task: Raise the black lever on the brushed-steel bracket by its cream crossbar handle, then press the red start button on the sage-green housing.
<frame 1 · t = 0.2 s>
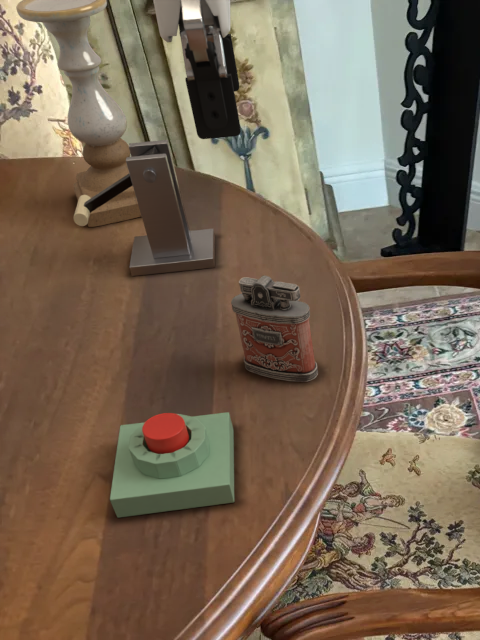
hand: (220, 112, 62), 25 cm above the table, tool pointing down, fingers open, 9 cm apart
button: (165, 433, 68), point 4 cm above the table, slide at 0.1 cm
lighter: (281, 370, 81), on the table
lever: (118, 187, 91), point 9 cm above the table, hinge at -25.0°
bracket: (175, 256, 98), on the table
candle holder: (122, 204, 109), on the table
button box: (178, 471, 71), on the table
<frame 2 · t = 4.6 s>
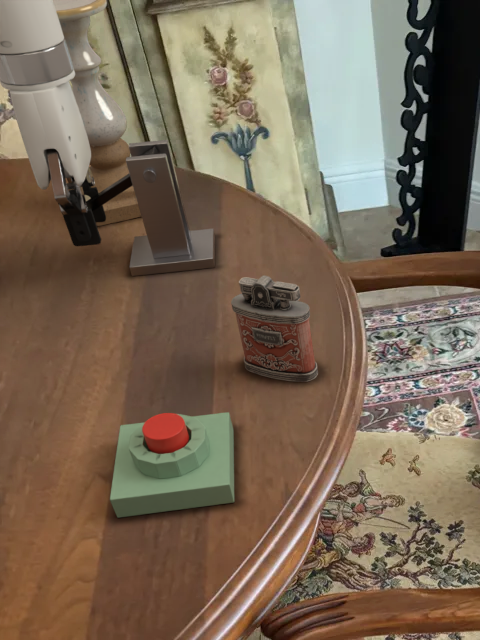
hand: (90, 231, 94), 4 cm above the table, tool pointing down, fingers closed on lever, 5 cm apart
lever: (118, 187, 91), point 9 cm above the table, hinge at -25.0°, touching gripper
everything else where it was.
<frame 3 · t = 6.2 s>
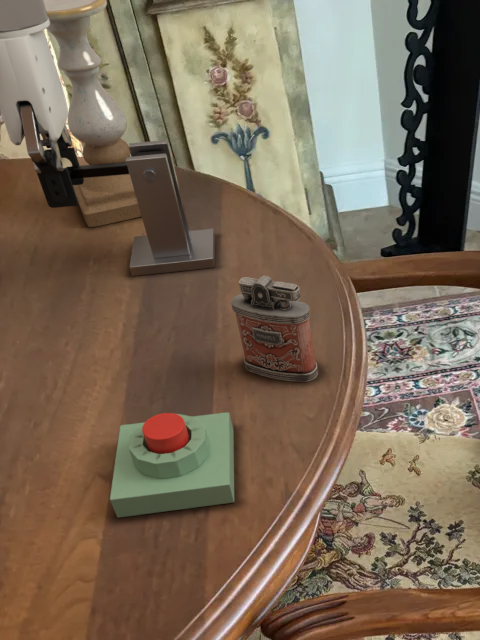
hand: (66, 193, 91), 9 cm above the table, tool pointing down, fingers closed on lever, 5 cm apart
lever: (109, 169, 90), point 11 cm above the table, hinge at 0.8°, touching gripper
everything else where it was.
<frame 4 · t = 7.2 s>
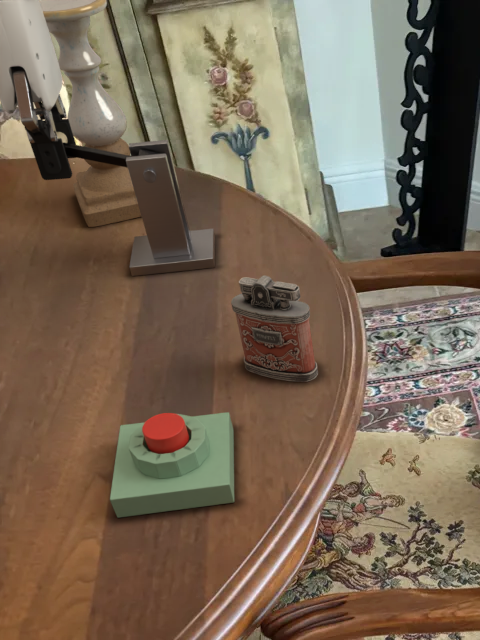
hand: (61, 166, 89), 12 cm above the table, tool pointing down, fingers closed on lever, 5 cm apart
lever: (107, 157, 89), point 12 cm above the table, hinge at 17.0°, touching gripper
everything else where it was.
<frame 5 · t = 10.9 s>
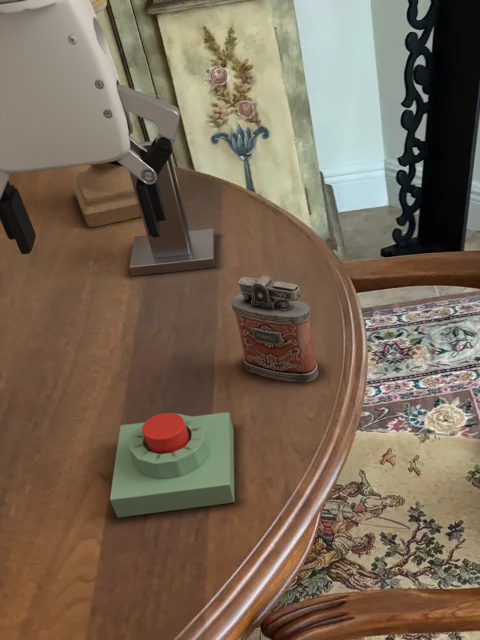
hand: (93, 237, 61), 19 cm above the table, tool pointing down, fingers open, 9 cm apart
lever: (107, 157, 89), point 12 cm above the table, hinge at 17.5°
everything else where it was.
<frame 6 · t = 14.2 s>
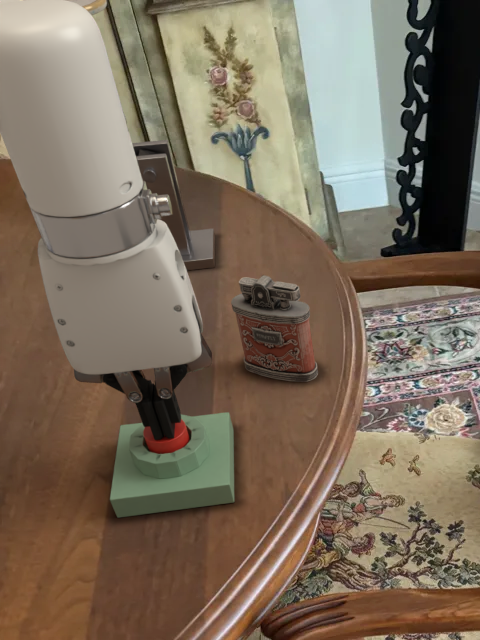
hand: (165, 428, 67), 5 cm above the table, tool pointing down, fingers closed
button: (166, 436, 68), point 4 cm above the table, slide at -0.3 cm, touching gripper
everything else where it was.
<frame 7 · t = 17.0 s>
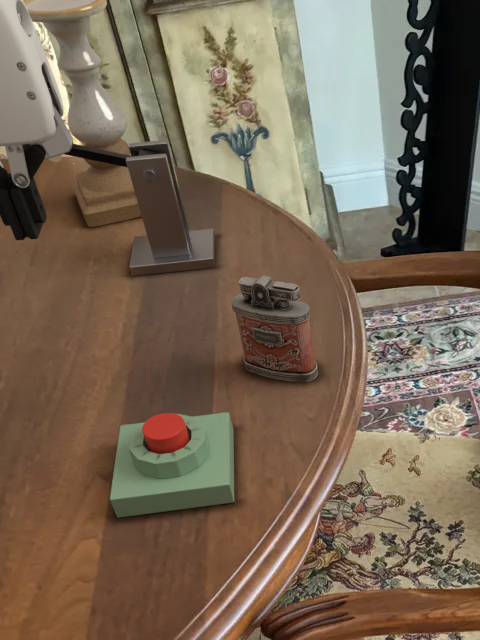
hand: (30, 231, 63), 19 cm above the table, tool pointing down, fingers closed
button: (165, 433, 68), point 4 cm above the table, slide at 0.1 cm
everything else where it was.
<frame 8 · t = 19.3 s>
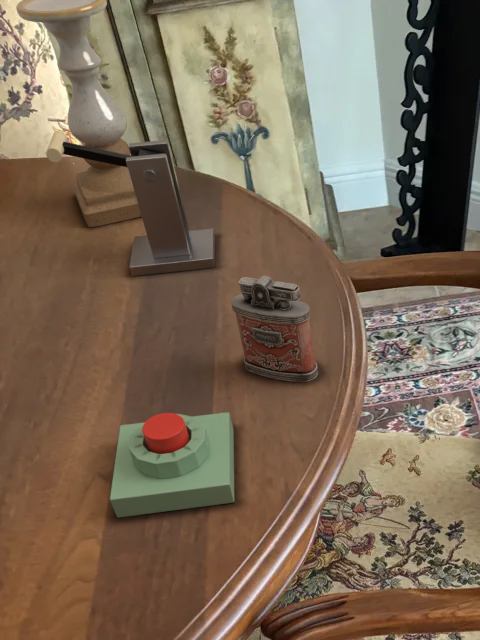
nothing on the table moved.
at the end: lever at +18° (first picture: -25°); button pushed in 1.1 cm at the most during the clip, back to where it started at the end; button slide at 0.1 cm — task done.
